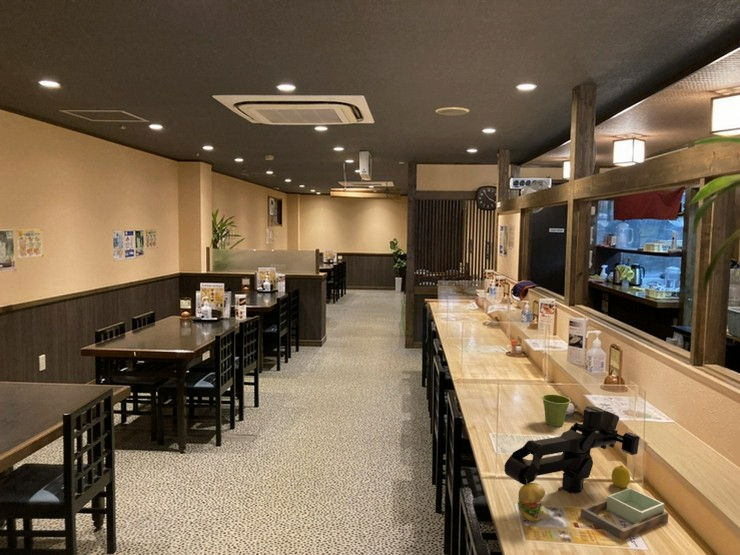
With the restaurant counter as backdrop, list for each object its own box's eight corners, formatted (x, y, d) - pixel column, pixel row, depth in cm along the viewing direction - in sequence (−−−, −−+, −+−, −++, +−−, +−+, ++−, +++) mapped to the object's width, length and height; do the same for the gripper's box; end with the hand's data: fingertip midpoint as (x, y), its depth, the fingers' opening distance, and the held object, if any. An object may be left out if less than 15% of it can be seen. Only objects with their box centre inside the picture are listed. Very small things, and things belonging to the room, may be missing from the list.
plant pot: (536, 424, 240) (538, 399, 239) (545, 417, 250) (546, 392, 249) (564, 431, 234) (566, 405, 232) (572, 423, 243) (574, 398, 242)
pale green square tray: (640, 528, 158) (641, 512, 158) (606, 510, 168) (607, 495, 167) (663, 518, 164) (664, 503, 164) (629, 501, 174) (630, 487, 173)
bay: (622, 543, 152) (623, 531, 152) (580, 519, 164) (581, 508, 164) (667, 524, 163) (668, 512, 163) (624, 502, 175) (625, 492, 174)
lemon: (606, 486, 185) (608, 463, 185) (619, 483, 188) (621, 460, 187) (620, 494, 180) (622, 470, 180) (632, 491, 183) (634, 467, 182)
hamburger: (542, 528, 159) (548, 489, 157) (516, 523, 160) (522, 484, 158) (538, 512, 167) (544, 475, 165) (514, 508, 168) (519, 471, 166)
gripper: (624, 423, 175) (655, 419, 183) (576, 405, 192) (606, 402, 199) (620, 458, 176) (651, 452, 184) (572, 437, 192) (602, 432, 200)
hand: (627, 433), depth 192 cm, fingers open, 9 cm apart
